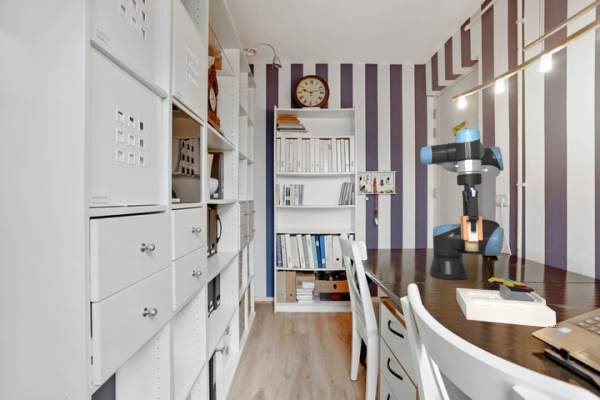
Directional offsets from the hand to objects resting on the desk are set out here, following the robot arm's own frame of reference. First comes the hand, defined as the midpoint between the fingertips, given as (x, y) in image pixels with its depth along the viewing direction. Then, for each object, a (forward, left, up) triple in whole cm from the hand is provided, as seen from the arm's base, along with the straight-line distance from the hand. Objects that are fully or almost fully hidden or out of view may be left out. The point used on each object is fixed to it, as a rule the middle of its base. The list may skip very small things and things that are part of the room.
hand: (471, 239), depth 103 cm
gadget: (-4, +12, -20) cm, 24 cm away
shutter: (+15, +8, -15) cm, 23 cm away
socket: (+15, +4, -20) cm, 25 cm away
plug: (0, 0, -4) cm, 4 cm away
